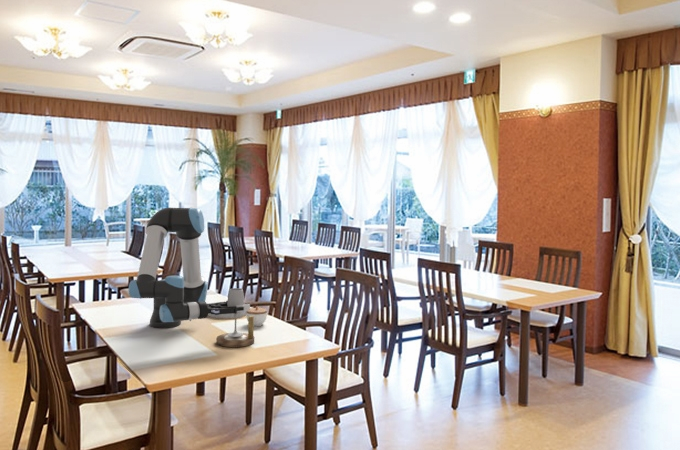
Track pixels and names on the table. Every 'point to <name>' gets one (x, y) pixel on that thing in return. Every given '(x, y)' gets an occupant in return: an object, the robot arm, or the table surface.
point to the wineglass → (234, 300)
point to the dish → (242, 313)
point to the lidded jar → (257, 315)
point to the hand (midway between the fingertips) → (245, 305)
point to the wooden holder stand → (238, 341)
